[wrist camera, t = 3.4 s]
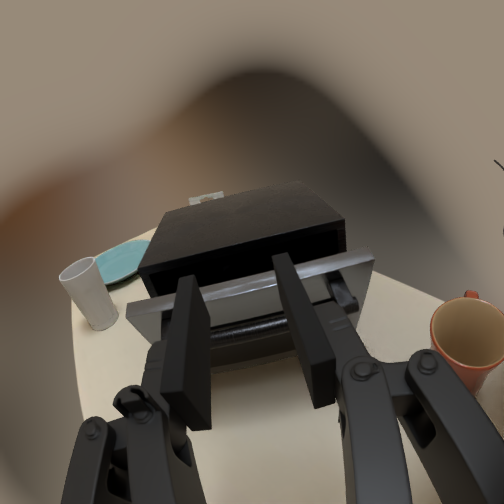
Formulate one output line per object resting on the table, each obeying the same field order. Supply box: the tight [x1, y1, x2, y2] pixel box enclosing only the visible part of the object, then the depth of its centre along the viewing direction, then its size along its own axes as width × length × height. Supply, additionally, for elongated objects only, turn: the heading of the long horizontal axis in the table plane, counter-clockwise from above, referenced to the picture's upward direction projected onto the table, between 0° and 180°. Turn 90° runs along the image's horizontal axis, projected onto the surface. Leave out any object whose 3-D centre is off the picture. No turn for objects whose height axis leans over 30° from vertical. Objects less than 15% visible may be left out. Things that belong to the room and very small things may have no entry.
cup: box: [59, 257, 118, 331], centre depth 45 cm, size 8×8×12 cm
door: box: [126, 246, 375, 374], centre depth 27 cm, size 5×22×16 cm, turn 96°
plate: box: [95, 240, 150, 285], centre depth 66 cm, size 22×22×3 cm
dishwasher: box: [137, 180, 347, 298], centre depth 39 cm, size 18×22×16 cm
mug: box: [430, 290, 504, 398], centre depth 21 cm, size 12×9×10 cm
